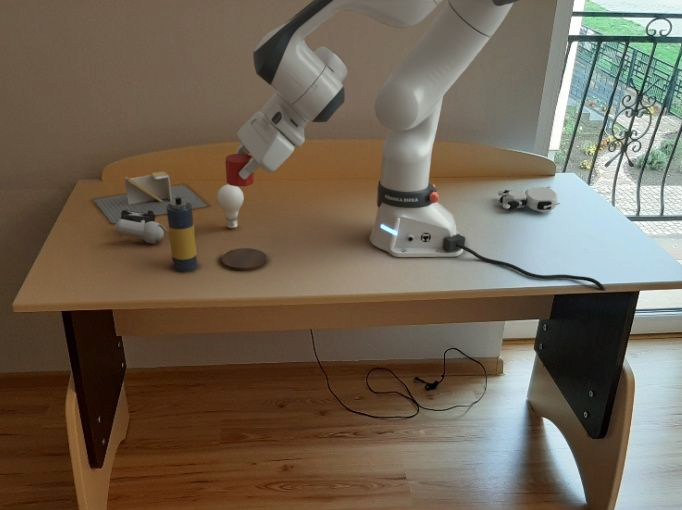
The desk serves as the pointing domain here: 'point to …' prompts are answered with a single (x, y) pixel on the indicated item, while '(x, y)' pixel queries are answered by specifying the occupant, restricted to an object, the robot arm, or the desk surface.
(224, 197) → the lightbulb
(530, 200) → the robot toy
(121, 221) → the clip-on lamp
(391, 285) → the desk surface
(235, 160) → the cap
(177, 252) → the spray can
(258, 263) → the coaster
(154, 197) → the model
